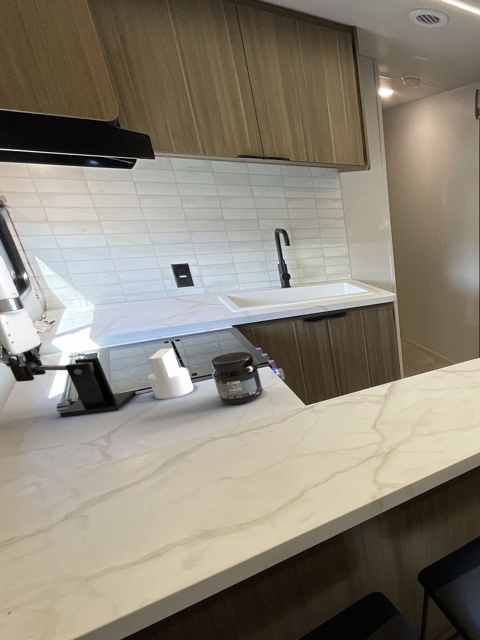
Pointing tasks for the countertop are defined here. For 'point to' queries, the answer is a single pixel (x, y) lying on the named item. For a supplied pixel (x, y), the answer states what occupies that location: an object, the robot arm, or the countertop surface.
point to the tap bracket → (93, 390)
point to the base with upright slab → (168, 375)
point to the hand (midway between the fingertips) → (31, 376)
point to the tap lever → (50, 366)
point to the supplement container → (236, 378)
